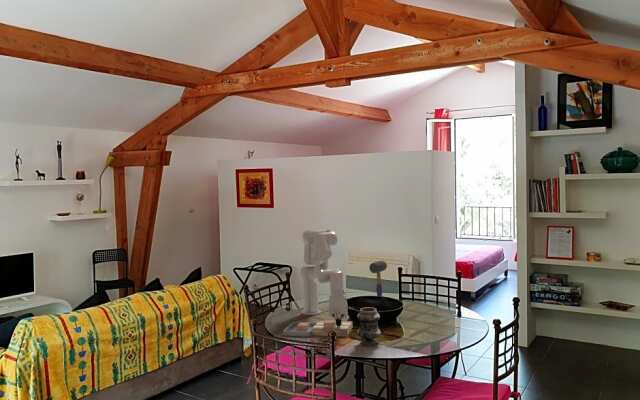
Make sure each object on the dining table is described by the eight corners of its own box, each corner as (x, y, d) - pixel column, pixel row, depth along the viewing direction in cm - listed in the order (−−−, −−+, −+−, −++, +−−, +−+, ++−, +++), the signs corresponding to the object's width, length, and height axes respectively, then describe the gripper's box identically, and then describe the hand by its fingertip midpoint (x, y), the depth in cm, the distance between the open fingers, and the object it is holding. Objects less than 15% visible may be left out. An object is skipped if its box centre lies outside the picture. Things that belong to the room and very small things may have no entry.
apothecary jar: (378, 347, 255) (376, 312, 255) (355, 346, 259) (353, 311, 259) (383, 340, 267) (381, 306, 266) (361, 339, 271) (359, 305, 270)
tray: (293, 326, 303) (293, 321, 303) (319, 326, 299) (318, 322, 299) (282, 335, 284) (282, 331, 284) (310, 336, 280) (309, 332, 280)
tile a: (309, 322, 296) (310, 327, 296) (299, 322, 297) (300, 327, 297) (306, 325, 290) (307, 330, 290) (296, 325, 292) (297, 330, 292)
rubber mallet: (379, 308, 335) (377, 263, 334) (370, 306, 339) (368, 262, 338) (389, 303, 344) (387, 260, 343) (380, 302, 349) (378, 259, 348)
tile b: (326, 325, 287) (326, 319, 287) (336, 325, 285) (336, 320, 285) (323, 328, 281) (323, 322, 281) (334, 328, 280) (333, 323, 279)
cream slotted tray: (319, 327, 296) (318, 320, 296) (352, 328, 291) (352, 321, 291) (312, 335, 282) (311, 328, 282) (347, 336, 277) (347, 329, 277)
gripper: (351, 291, 283) (353, 324, 284) (325, 291, 287) (327, 323, 287) (349, 294, 276) (350, 328, 276) (322, 294, 280) (324, 327, 280)
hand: (338, 325), depth 282 cm, fingers closed
